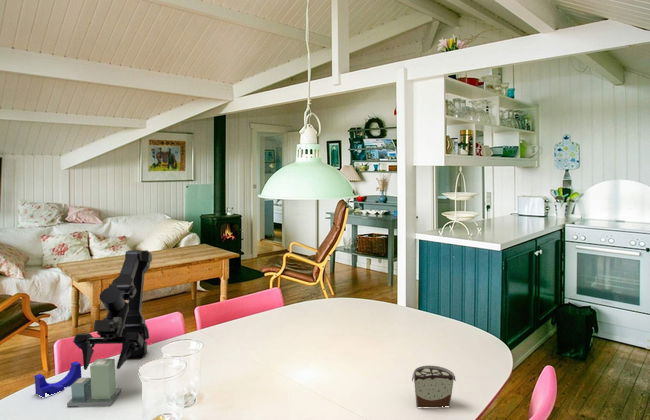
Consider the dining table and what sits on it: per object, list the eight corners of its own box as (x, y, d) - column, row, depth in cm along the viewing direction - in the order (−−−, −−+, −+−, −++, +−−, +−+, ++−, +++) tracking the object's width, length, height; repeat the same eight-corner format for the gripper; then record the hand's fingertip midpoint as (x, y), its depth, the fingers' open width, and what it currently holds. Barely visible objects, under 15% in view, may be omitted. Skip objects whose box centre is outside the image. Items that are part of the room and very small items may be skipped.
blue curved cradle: (42, 399, 129) (41, 379, 129) (35, 395, 132) (34, 375, 131) (84, 383, 139) (83, 364, 139) (76, 379, 142) (75, 361, 141)
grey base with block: (67, 407, 125) (66, 387, 124) (81, 393, 132) (80, 374, 132) (110, 405, 125) (109, 386, 125) (121, 391, 133) (121, 373, 133)
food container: (448, 396, 131) (449, 364, 130) (455, 407, 125) (456, 373, 124) (407, 397, 130) (407, 364, 130) (411, 408, 124) (412, 374, 123)
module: (91, 399, 127) (90, 364, 126) (98, 391, 131) (97, 358, 130) (109, 398, 127) (107, 364, 126) (116, 391, 131) (114, 357, 130)
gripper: (74, 307, 131) (56, 359, 121) (139, 306, 132) (126, 357, 122) (88, 323, 139) (72, 373, 129) (148, 322, 140) (137, 372, 130)
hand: (101, 369), depth 127 cm, fingers open, 9 cm apart
